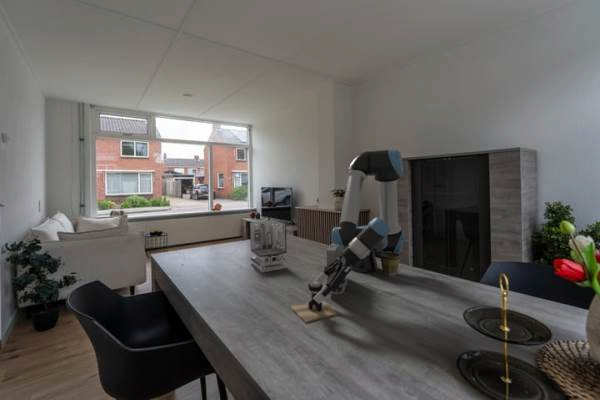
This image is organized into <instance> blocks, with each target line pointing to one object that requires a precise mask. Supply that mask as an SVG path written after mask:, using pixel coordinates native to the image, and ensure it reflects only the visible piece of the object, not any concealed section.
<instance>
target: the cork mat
mask: <svg viewBox="0 0 600 400" xmlns="http://www.w3.org/2000/svg"><path fill="white" fill-rule="evenodd" d="M310 301H311V300H310V299H309V300H305V301H301V302H298V303H293V304H289V305H288V307H289V308H290V309H291V310H292V311H293V312H294V314H295V315H296V316H298V317H299V318H300V319H301V320H302V322H304V323H305V324H307V323H311V322H316V321H318V320H323V319H326V318H330V317H334V316H339V315H340V314H341V312H340V311H338V309H336V308H334V307H333V306H332V305H331V304H329V303H328V302H326V301H325V299H324V300H323V301H322V310H321V311H318V310H313V309H309V307H308V306H306V305H309V304H306V303H309V302H310Z"/></svg>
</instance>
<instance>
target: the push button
mask: <svg viewBox="0 0 600 400" xmlns="http://www.w3.org/2000/svg"><path fill="white" fill-rule="evenodd" d="M307 287H308V290H309V291H310V299H309V301H310V300H311V301H310V302H309V303H306V304H309V305H306V306H308V307H309V309H313V310H318V311H321V310H322V302H321V303H320V304H318V303H317V302H316V301H315V300H314V299H313V298H314V297H315V296H316V295H317V294H318V293H319V292H320V291H321V290H322V289H323V288H324V286H323V283H322V284H320V282H319V281H315V280H313V281H310V283H308V284H307Z"/></svg>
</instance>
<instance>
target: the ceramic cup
mask: <svg viewBox="0 0 600 400" xmlns="http://www.w3.org/2000/svg"><path fill="white" fill-rule="evenodd" d="M379 258H380V263H381V270H382V273H383V275H385V276H389V277H390V276H392V277H393V276H397V274H398V270H399V266H400V260H401V254H399V253H398V252H393V253H392V252H386V251H382V252H381V253H379Z"/></svg>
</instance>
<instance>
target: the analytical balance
mask: <svg viewBox="0 0 600 400" xmlns="http://www.w3.org/2000/svg"><path fill="white" fill-rule="evenodd" d="M249 232H250V233H249V235H250V237H249V238H250V240H249V241H250V252H252V253H253V254H254V256H250V261H251V263H250V266H252V267H253V268H254V270H255V269H256V271H258V272H259V273H268V272H271V271H278V270H283V269H288V268H287V267H288V265H287V264H286V263H288V259H287V258H286V256H285V254H287V251H288V250H287V247H288V246H287V223H284V222H281V221H278V220H264V221H255V222H252V221H251V222H249Z"/></svg>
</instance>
